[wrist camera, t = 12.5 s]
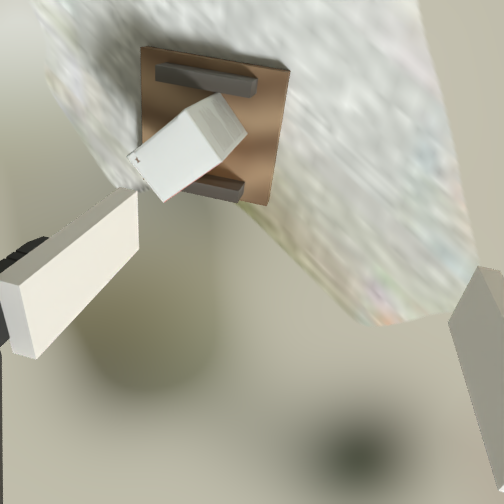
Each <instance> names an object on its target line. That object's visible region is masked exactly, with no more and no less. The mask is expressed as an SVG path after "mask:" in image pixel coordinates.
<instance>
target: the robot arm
mask: <svg viewBox="0 0 504 504" xmlns="http://www.w3.org/2000/svg"><path fill="white" fill-rule="evenodd" d="M137 198H138V197H137V191H135V190H131V189H126V188H122V187H119V188H118V189H116V190H115V191H113V192H112V193H111V194H109V195H108V196H107V197H106V198H104V199H102V200H101V201H100V202H98V203H97V204H95V205H94V206H93V207H92V208H90V209H89V210H88V211H86V212H84V213H83V214H82V215H80V216H79V217H78V218H76V219H75V220H74V221H72V222H71V223H69V224H68V225H66V226H65V227H64V228H62V229H61V230H60V231H58V232H57V233H55V234H54V235H53V236H51V237H50V238H48V237H44V236H43V237H40V238H38V239H35V240H33V241H30V242H27V243H26V244H24V245H23V246H21V247H20V248H19V249H17V250H16V252H13V253H12V254H10V255H8V256H7V257H6V259H3V260H1V261H0V347H1V346H2V345H3V344H4V343H5V342H6V341H7V340H8V339H9V340H10V343H11V347H12V351H13V353H15V354H18V355H22V356H25V357H29V358H33V359H37V358H38V357H39V356H40V355H41V354H42V353H43V351H44V350H46V349H47V347H48V346H49V345H50V344H51V343H52V342H53V341H54V340H55V339H56V337H58V335H59V334H60V333H61V332H62V331H63V330H64V329H65V328H66V327H67V326H68V325H69V324H70V323H71V322H72V320H73V319H74V318H75V317H76V316H77V315H78V314H79V313H80V312H81V311H82V310H83V309H84V308H85V307H86V305H87V304H88V303H89V302H90V301H91V300H92V299H93V298H94V297H95V296H96V294H98V293H99V291H100V290H101V289H102V288H103V287H104V286H105V285H106V284H107V283H108V282H109V281H110V280H111V278H113V276H114V275H115V274H116V273H117V272H118V271H119V270H120V269H121V268H122V267H123V266H124V265H125V263H126V262H127V261H128V260H129V259H130V258H131V257H132V256H133V255H134V254H135V253H136V251H138V249H139V232H138V199H137ZM448 325H449V328H450V332H451V335H452V338H453V342H454V345H455V348H456V352H457V355H458V358H459V361H460V365H461V368H462V372H463V375H464V378H465V382H466V385H467V388H468V392H469V395H470V398H471V402H472V405H473V408H474V411H475V415H476V418H477V422H478V425H479V428H480V431H481V435H482V438H483V441H484V445H485V448H486V452H487V455H488V458H489V461H490V465H491V468H492V472H493V475H494V478H495V482H496V484H497V488H498V491H501V492H504V277H503V275H502V274H501V272H500V271H499V270H494V269H490V268H485V267H481V266H477V268H476V270H475V272H474V274H473V276H472V278H471V280H470V282H469V283H468V285H467V287H466V289H465V291H464V293H463V295H462V297H461V299H460V301H459V302H458V304H457V306H456V308H455V310H454V312H453V314H452V316H451V318H450V320H449V322H448ZM2 464H3V463H2V355H1V352H0V504H3V470H2V469H3V465H2Z"/></svg>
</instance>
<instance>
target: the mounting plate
mask: <svg viewBox="0 0 504 504" xmlns="http://www.w3.org/2000/svg"><path fill="white" fill-rule="evenodd" d="M289 76H290V71H288V70H282V69H276V68H270V67H265V66H259V65H253V64H247V63H241V62H236V61H230V60H224V59H218V58H212V57H207V56H201V55H195V54H189V53H183V52H178V51H172V50H166V49H160V48H154V47H149V46H145V47H141V97H142V144H143V143H144V142H146V141H147V140H148V139H149V138H151V137H152V136H153V135H154V134H156V133H157V132H158V131H159V130H161V129H162V128H163V127H164V126H165V125H167V124H168V123H169V122H170V121H171V120H173V119H174V118H175V117H176V116H177V115H178V114H179V113H180V112H181V111H182V110H184V109H185V108H187V107H189V106H191V105H193V104H195V103H197V102H199V101H201V100H203V99H205V98H207V97H209V96H210V95H212V94H214V93H216V92H218V93H221V95H222V96H223V97H224V99H225V100H226V102H227V103H228V105H229V106H230V108H231V109H232V111H233V112H234V114H235V115H236V117H237V118H238V120H239V121H240V123H241V124H242V126H243V127H244V129H245V130H246V132H247V135H246V136H245V137H244V138H243V140H242V141H241V142H240V143H239V144H238V145H237V146H236V147H235V148H234V150H233V151H232V152H231V153H230V154H229V155H228V156H227V157H226V159H225V160H224V161H223V162H222V163H220V164H219V165H218V166H216V167H215V168H213V169H212V170H210V171H209V172H207V173H206V174H205V175H203V176H202V177H200V178H199V179H197V180H196V181H194V182H193V183H192V184H190V185H189V186H187V187H186V188H184V189H183V190H182V191H184V192H188V193H193V194H197V195H202V196H206V197H211V198H215V199H220V200H225V201H229V202H234V203H238V201H239V200H241V201H245V202H250V203H254V204H259V205H264V206H267V204H268V202H269V197H270V191H271V185H272V179H273V173H274V167H275V161H276V155H277V149H278V143H279V137H280V131H281V125H282V119H283V113H284V107H285V100H286V94H287V88H288V82H289ZM143 180H144V178H143Z"/></svg>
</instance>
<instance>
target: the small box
mask: <svg viewBox="0 0 504 504" xmlns="http://www.w3.org/2000/svg"><path fill="white" fill-rule="evenodd" d="M246 135H247V132H246V130H245V129H244V127H243V126H242V124H241V123H240V121H239V120H238V118H237V117H236V115H235V114H234V112H233V111H232V109H231V108H230V106H229V105H228V103H227V102H226V100H225V99H224V97H223V96H222V95H221V93H218V92H216V93H214V94H212V95H210V96H209V97H207V98H205V99H203V100H201V101H199V102H197V103H195V104H193V105H191V106H189V107H187V108H185V109H184V110H182V111H181V112H180V113H179V114H178V115H177V116H176V117H175V118H174V119H173V120H171V121H170V122H169V123H168V124H167V125H165V126H164V127H163V128H162V129H161V130H159V131H158V132H157V133H156V134H154V135H153V136H152V137H151V138H149V139H148V140H147V141H146V142H144V143H143V144H142V145H141V146H139V147H138V148H137V149H135V150H134V151H133V152H131V153H130V154H128V155H127V158H128V159H129V161H130V162H131V163H132V164H133V166H134V167H135V168H136V170H137V171H138V172H139V173H140V175H141V176H142V177H143V178H144V180H145V181H146V182H147V183H148V185H149V186H150V187H151V188H152V190H153V191H154V192H155V193H156V194H157V196H158V197H159V198H160V199H161V201H162V202H166V201H167V200H168V199H170V198H171V197H173V196H174V195H176V194H177V193H179V192H180V191H182V190H183V189H184V188H186V187H187V186H189V185H190V184H192V183H193V182H194V181H196V180H197V179H199V178H200V177H202V176H203V175H205V174H206V173H207V172H209V171H210V170H212V169H213V168H215V167H216V166H218V165H219V164H220V163H222V162H223V161H224V160H225V159H226V157H227V156H228V155H229V154H230V153H231V152H232V151H233V150H234V148H235V147H236V146H237V145H238V144H239V143H240V142H241V141H242V140H243V138H244V137H245V136H246Z"/></svg>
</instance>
